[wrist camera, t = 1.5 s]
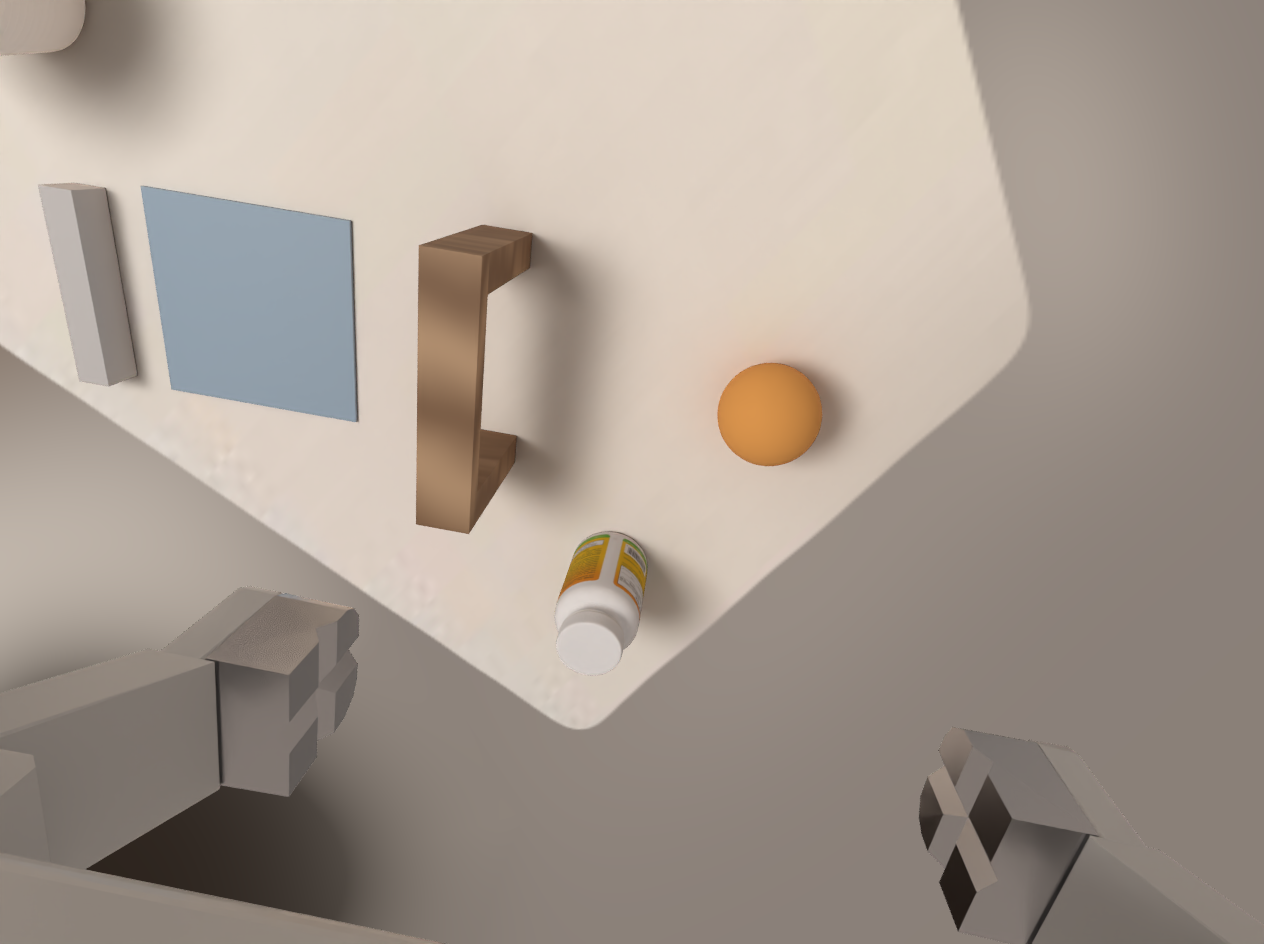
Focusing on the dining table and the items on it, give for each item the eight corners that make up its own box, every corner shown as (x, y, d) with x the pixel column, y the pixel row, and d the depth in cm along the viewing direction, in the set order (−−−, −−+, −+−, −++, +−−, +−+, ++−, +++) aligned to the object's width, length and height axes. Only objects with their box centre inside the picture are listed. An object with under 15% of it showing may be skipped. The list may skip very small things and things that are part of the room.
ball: (727, 343, 42) (729, 372, 37) (826, 360, 42) (842, 391, 37) (709, 433, 45) (708, 473, 39) (801, 450, 45) (813, 491, 39)
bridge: (482, 224, 41) (418, 245, 32) (532, 233, 41) (482, 256, 32) (471, 454, 47) (416, 524, 39) (514, 462, 47) (468, 534, 38)
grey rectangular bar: (73, 183, 42) (37, 184, 40) (105, 188, 42) (70, 190, 40) (109, 370, 48) (79, 381, 45) (137, 375, 48) (108, 386, 45)
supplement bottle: (567, 582, 51) (536, 673, 42) (581, 521, 49) (552, 602, 40) (638, 601, 51) (622, 695, 42) (656, 540, 49) (643, 626, 40)
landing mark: (143, 185, 42) (140, 186, 42) (351, 220, 42) (349, 221, 41) (173, 388, 48) (171, 389, 47) (357, 421, 47) (356, 422, 47)
